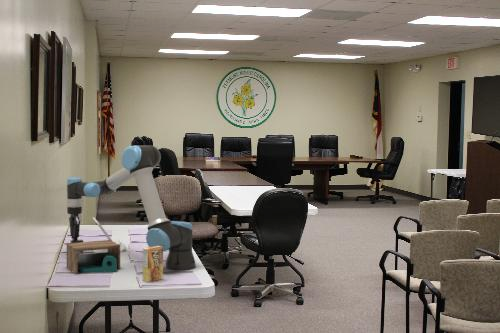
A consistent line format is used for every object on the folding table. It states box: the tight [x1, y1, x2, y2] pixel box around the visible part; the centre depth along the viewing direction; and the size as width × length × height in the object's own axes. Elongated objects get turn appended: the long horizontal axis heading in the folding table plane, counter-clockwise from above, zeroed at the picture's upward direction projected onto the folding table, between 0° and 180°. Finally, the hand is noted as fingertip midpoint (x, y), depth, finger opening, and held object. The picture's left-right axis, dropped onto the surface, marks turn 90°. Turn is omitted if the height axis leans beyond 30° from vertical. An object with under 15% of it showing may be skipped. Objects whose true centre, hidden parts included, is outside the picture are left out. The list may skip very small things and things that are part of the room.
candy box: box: [142, 246, 164, 283], centre depth 299 cm, size 9×4×15 cm, turn 137°
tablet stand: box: [91, 216, 128, 253], centre depth 371 cm, size 18×25×17 cm
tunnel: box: [66, 239, 121, 275], centre depth 320 cm, size 16×22×12 cm
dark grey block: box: [70, 239, 110, 269], centre depth 334 cm, size 27×19×9 cm
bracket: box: [78, 254, 118, 274], centre depth 316 cm, size 18×7×8 cm, turn 100°
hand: (74, 249), depth 348 cm, fingers closed
